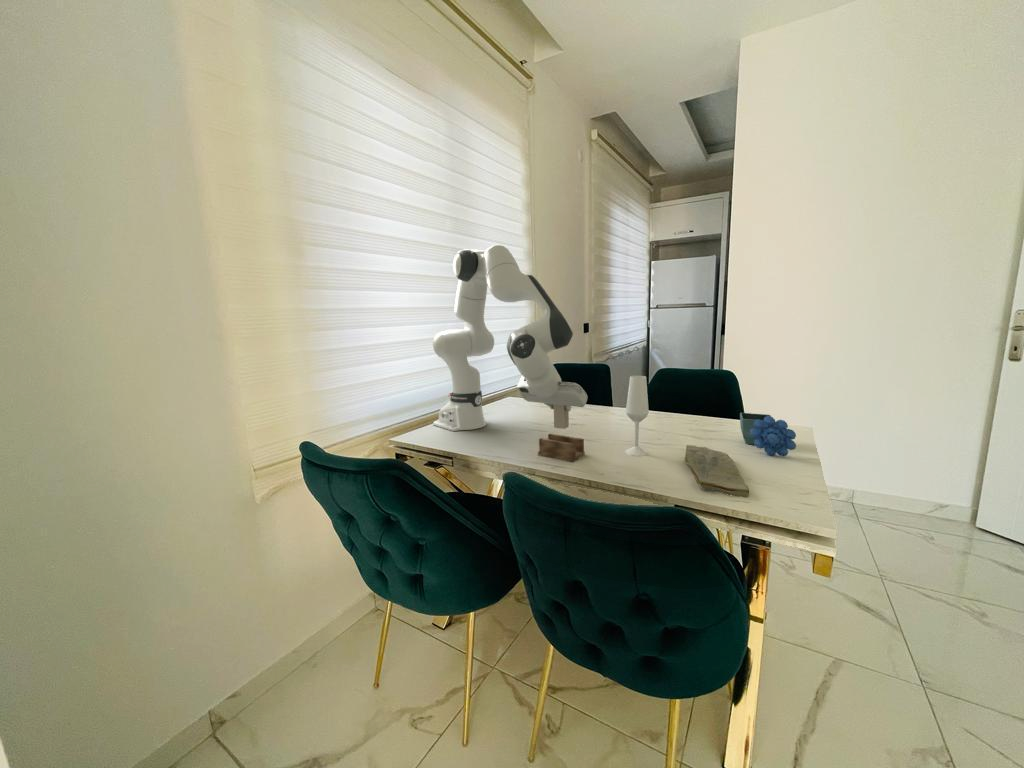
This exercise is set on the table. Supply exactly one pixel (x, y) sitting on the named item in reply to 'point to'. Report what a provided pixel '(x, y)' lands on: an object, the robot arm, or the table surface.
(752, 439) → the flower pot
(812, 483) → the table surface
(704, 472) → the stone slab
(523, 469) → the table surface
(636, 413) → the champagne flute
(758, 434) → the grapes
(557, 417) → the strip
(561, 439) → the wooden napkin holder
